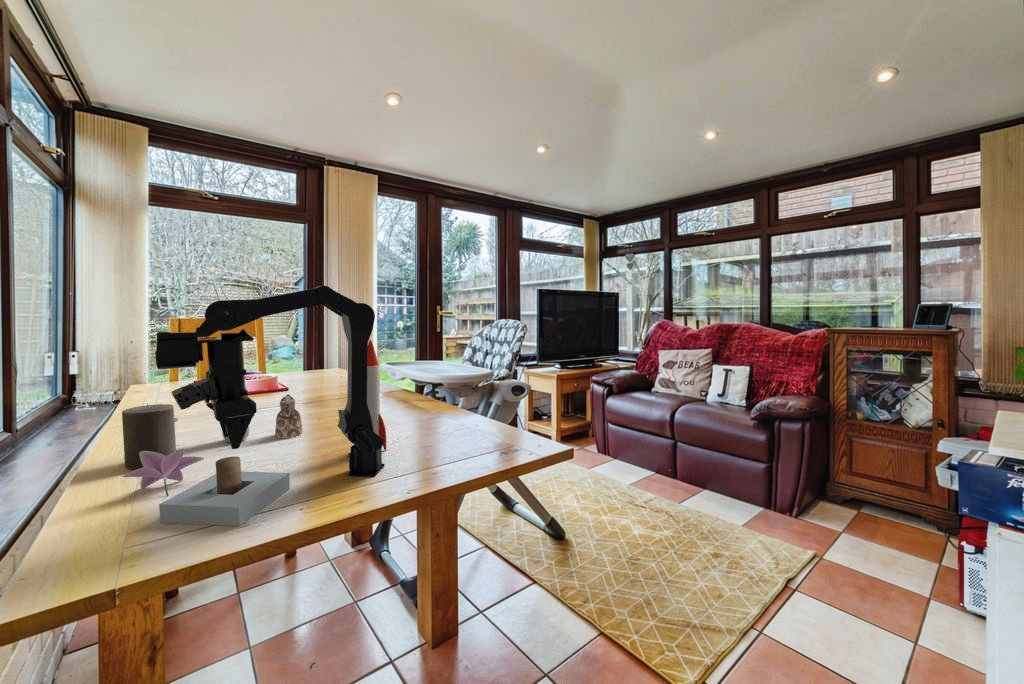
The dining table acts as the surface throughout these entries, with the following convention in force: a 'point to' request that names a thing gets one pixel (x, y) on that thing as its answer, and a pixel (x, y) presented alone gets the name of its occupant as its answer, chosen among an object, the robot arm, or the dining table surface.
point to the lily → (162, 467)
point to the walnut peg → (228, 475)
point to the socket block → (224, 500)
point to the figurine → (288, 419)
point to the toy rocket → (374, 393)
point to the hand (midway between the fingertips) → (231, 442)
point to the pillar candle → (147, 432)
